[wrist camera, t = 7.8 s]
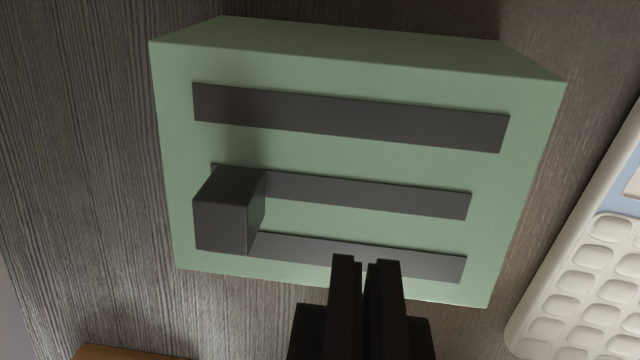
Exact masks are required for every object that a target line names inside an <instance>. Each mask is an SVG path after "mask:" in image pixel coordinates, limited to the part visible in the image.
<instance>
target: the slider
mask: <svg viewBox="0 0 640 360" xmlns="http://www.w3.org/2000/svg"><path fill="white" fill-rule="evenodd" d="M265 186H266V171H265V170H263V169H255V168H246V167H237V166H229V165H217V167H216V168H215V169H214V171H213V172H212V173H211V175H210V176H209V177H208V179H207V180H206V181H205V182H204V184H203V185H202V186H201V188H200V189H199V190H198V192H197V193H196V194H195V196H194V197H193V198H192V210H193V221H194V233H195V244H196V249H197V250H203V251H211V252H219V253H226V254H234V255H242V256H248V254H249V252H250V249H251V247H252V245H253V242H254V240H255V237H256V235H257V233H258V230H259V228H260V226H261V223H262V221H263V218H264V216H265Z"/></svg>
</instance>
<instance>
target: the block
mask: <svg viewBox="0 0 640 360" xmlns="http://www.w3.org/2000/svg"><path fill="white" fill-rule="evenodd" d="M71 360H191V359H185V358H178V357H172V356H166V355H160V354H153V353H147V352H141V351H135V350H129V349H122V348H116V347H110V346H104V345H98V344H91V343H85V342H84V343H83V345H82V346H81V347H80V349H79V350H78V351H77V353H76V354H75V355H74V357H73V358H72V359H71Z"/></svg>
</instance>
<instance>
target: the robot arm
mask: <svg viewBox="0 0 640 360" xmlns="http://www.w3.org/2000/svg"><path fill="white" fill-rule="evenodd" d="M286 360H436V355H435V350H434V345H433V339H432V334H431V329H430V324H429V321H428V319H427V318H423V317H415V316H407V314H406V306H405V298H404V290H403V283H402V275H401V267H400V261H399V260H390V259H381V258H377V260H376V264H374V263H368V267H367V273H366V279H365V285H364V291H363V297H362V262H356V261H354V255H346V254H337V253H333V258H332V267H331V276H330V285H329V294H328V303H327V306H323V305H315V304H306V303H298V302H297V305H296V310H295V315H294V320H293V325H292V331H291V336H290V341H289V347H288V352H287V357H286Z"/></svg>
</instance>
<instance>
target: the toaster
mask: <svg viewBox="0 0 640 360" xmlns="http://www.w3.org/2000/svg"><path fill="white" fill-rule="evenodd" d="M148 45H149V54H150V62H151V71H152V79H153V87H154V96H155V104H156V112H157V121H158V129H159V138H160V146H161V154H162V163H163V171H164V179H165V188H166V196H167V205H168V213H169V221H170V230H171V238H172V246H173V255H174V263H175V268H180V269H187V270H195V271H202V272H210V273H217V274H225V275H233V276H240V277H248V278H255V279H263V280H270V281H278V282H286V283H293V284H301V285H308V286H316V287H324V288H329V285H330V276H331V267H332V258H333V253H337V254H346V255H354V261H356V262H362V293H363V291H364V285H365V279H366V273H367V267H368V263H374V264H376V260H377V258H381V259H390V260H399V261H400V267H401V275H402V283H403V290H404V298H407V299H414V300H422V301H430V302H437V303H445V304H452V305H460V306H468V307H475V308H483V309H486V308H487V306H488V304H489V301H490V298H491V295H492V292H493V290H494V287H495V284H496V281H497V279H498V276H499V273H500V270H501V267H502V265H503V262H504V259H505V256H506V254H507V251H508V248H509V245H510V242H511V240H512V237H513V234H514V231H515V229H516V226H517V223H518V220H519V217H520V215H521V212H522V209H523V206H524V204H525V201H526V198H527V195H528V193H529V190H530V187H531V184H532V181H533V179H534V176H535V173H536V170H537V168H538V165H539V162H540V159H541V156H542V154H543V151H544V148H545V145H546V143H547V140H548V137H549V134H550V131H551V129H552V126H553V123H554V120H555V118H556V115H557V112H558V109H559V106H560V104H561V101H562V98H563V95H564V93H565V90H566V87H567V84H568V81H566V80H565V79H563V78H561V77H559V76H558V75H556V74H554V73H553V72H551V71H549V70H548V69H546V68H544V67H543V66H541V65H539V64H538V63H536V62H534V61H532V60H531V59H529V58H527V57H526V56H524V55H522V54H521V53H519V52H517V51H516V50H514V49H512V48H511V47H509V46H507V45H505V44H504V43H502V42H500V41H497V40H486V39H476V38H465V37H454V36H443V35H432V34H422V33H411V32H400V31H389V30H378V29H368V28H357V27H346V26H335V25H324V24H313V23H303V22H292V21H281V20H270V19H259V18H249V17H238V16H227V15H221V16H219V17H216V18H213V19H210V20H207V21H204V22H201V23H198V24H195V25H192V26H189V27H187V28H184V29H181V30H178V31H175V32H172V33H169V34H166V35H163V36H160V37H157V38H154V39H152V40H149V41H148ZM217 165H229V166H237V167H246V168H255V169H263V170H265V171H266V186H265V216H264V218H263V221H262V223H261V226H260V228H259V230H258V233H257V235H256V237H255V240H254V242H253V245H252V247H251V249H250V252H249V254H248V256H242V255H234V254H226V253H219V252H211V251H203V250H197V249H196V244H195V233H194V221H193V210H192V198H193V197H194V196H195V194H196V193H197V192H198V190H199V189H200V188H201V186H202V185H203V184H204V182H205V181H206V180H207V179H208V177H209V176H210V175H211V173H212V172H213V171H214V169H215V168H216V167H217Z"/></svg>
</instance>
